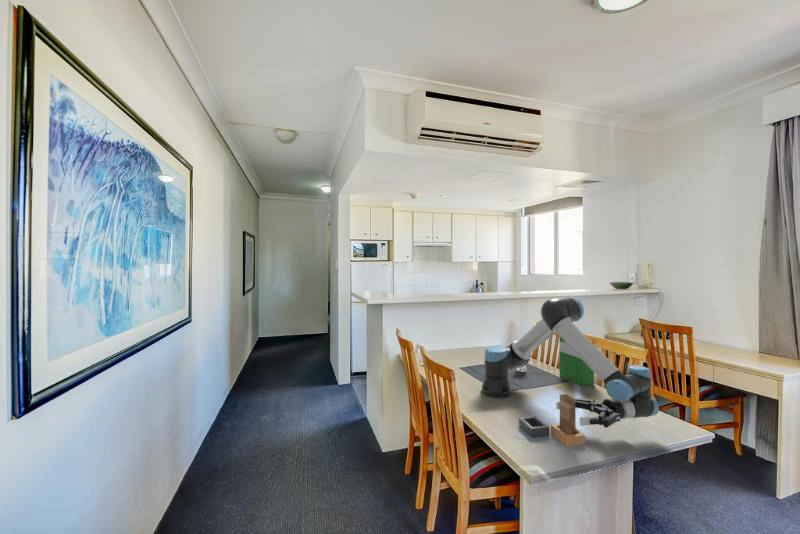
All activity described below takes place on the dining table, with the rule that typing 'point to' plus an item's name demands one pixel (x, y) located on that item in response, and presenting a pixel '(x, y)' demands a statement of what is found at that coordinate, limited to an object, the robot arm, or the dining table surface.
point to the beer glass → (522, 369)
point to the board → (547, 439)
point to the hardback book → (574, 366)
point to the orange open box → (568, 436)
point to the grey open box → (536, 431)
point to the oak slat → (567, 414)
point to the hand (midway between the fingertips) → (567, 413)
